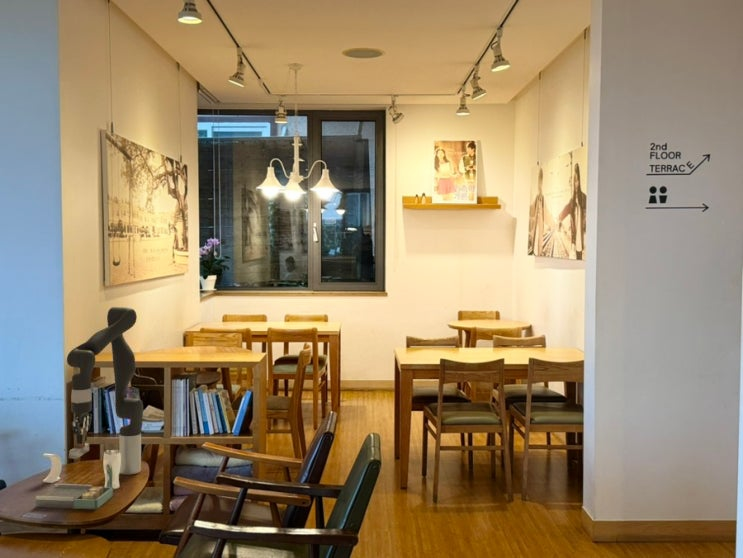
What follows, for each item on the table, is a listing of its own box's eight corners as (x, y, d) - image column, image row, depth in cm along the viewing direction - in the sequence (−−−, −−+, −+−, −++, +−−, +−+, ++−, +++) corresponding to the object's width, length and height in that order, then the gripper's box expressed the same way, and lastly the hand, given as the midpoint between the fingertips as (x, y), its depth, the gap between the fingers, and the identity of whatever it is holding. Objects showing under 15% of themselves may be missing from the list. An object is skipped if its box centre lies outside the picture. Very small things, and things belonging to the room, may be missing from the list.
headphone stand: (43, 481, 295) (43, 454, 295) (52, 477, 301) (52, 450, 300) (52, 483, 294) (52, 455, 294) (61, 478, 300) (61, 451, 299)
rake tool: (81, 449, 282) (83, 421, 282) (89, 450, 282) (90, 421, 282) (68, 458, 271) (70, 428, 271) (76, 458, 271) (78, 428, 271)
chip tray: (91, 495, 280) (91, 486, 280) (113, 496, 279) (113, 487, 279) (73, 508, 265) (73, 499, 265) (96, 509, 265) (96, 500, 264)
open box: (55, 493, 281) (55, 483, 281) (91, 495, 280) (91, 484, 280) (35, 507, 266) (35, 496, 266) (73, 508, 265) (73, 497, 265)
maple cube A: (93, 486, 277) (103, 486, 277) (93, 496, 277) (103, 496, 277) (88, 489, 273) (98, 490, 273) (88, 499, 273) (98, 500, 273)
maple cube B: (86, 491, 271) (96, 492, 271) (86, 501, 271) (96, 502, 271) (81, 495, 267) (92, 495, 267) (81, 505, 267) (92, 505, 267)
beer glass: (120, 489, 288) (120, 453, 287) (102, 490, 285) (102, 454, 285) (121, 484, 294) (121, 449, 294) (103, 485, 292) (103, 450, 292)
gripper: (80, 395, 283) (80, 437, 284) (63, 403, 269) (64, 447, 270) (98, 396, 282) (98, 437, 283) (82, 404, 268) (82, 447, 269)
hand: (81, 442), depth 276 cm, fingers closed on rake tool, 3 cm apart
